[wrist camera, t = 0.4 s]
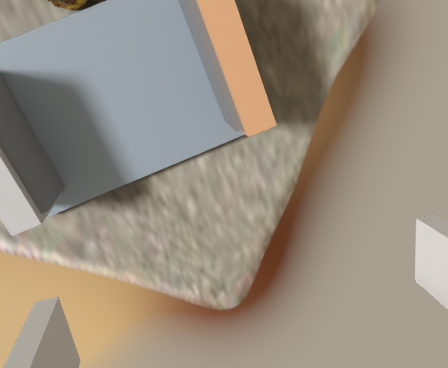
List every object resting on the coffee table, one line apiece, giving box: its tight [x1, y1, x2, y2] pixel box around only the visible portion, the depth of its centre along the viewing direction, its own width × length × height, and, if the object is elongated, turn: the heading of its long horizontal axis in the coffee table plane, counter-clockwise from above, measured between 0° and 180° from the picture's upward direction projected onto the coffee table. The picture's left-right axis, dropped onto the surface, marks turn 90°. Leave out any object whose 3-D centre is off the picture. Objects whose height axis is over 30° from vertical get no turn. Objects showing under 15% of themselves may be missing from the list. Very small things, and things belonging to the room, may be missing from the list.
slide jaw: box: [178, 0, 277, 137], centre depth 32 cm, size 12×3×7 cm, turn 21°
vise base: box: [0, 0, 245, 236], centre depth 32 cm, size 15×23×8 cm, turn 111°
